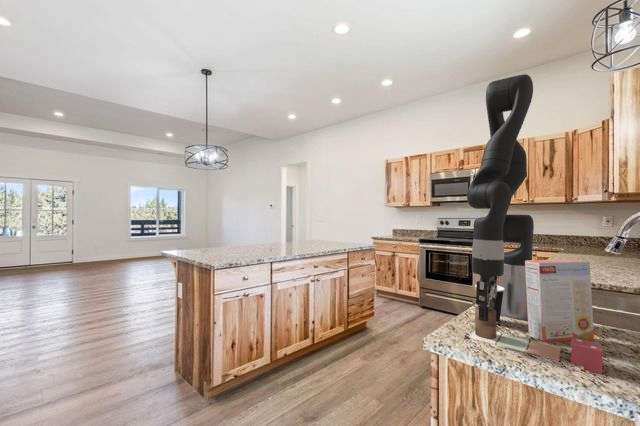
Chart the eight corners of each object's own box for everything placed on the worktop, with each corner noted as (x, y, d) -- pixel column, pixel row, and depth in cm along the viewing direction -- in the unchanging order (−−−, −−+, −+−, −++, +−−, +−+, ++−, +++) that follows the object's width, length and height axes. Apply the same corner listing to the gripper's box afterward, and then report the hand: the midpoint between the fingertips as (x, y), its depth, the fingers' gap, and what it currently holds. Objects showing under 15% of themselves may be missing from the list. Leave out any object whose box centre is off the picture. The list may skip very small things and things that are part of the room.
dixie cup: (509, 324, 91) (510, 288, 91) (495, 329, 87) (495, 291, 87) (483, 316, 98) (484, 282, 98) (469, 320, 94) (469, 285, 94)
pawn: (477, 329, 85) (477, 293, 85) (497, 334, 82) (498, 296, 82) (473, 335, 81) (473, 296, 81) (494, 340, 78) (494, 300, 78)
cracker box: (574, 334, 84) (572, 259, 85) (595, 342, 78) (592, 261, 79) (526, 334, 83) (523, 259, 84) (543, 343, 77) (540, 261, 78)
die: (571, 358, 70) (571, 336, 70) (600, 365, 67) (600, 343, 67) (571, 366, 66) (571, 344, 66) (602, 375, 63) (602, 351, 63)
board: (476, 328, 88) (476, 326, 88) (562, 348, 75) (562, 345, 75) (466, 340, 79) (466, 338, 79) (561, 365, 67) (561, 362, 67)
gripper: (478, 252, 89) (477, 307, 89) (465, 257, 78) (464, 320, 78) (507, 255, 84) (507, 313, 84) (499, 260, 73) (498, 327, 73)
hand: (486, 316), depth 81 cm, fingers open, 8 cm apart
